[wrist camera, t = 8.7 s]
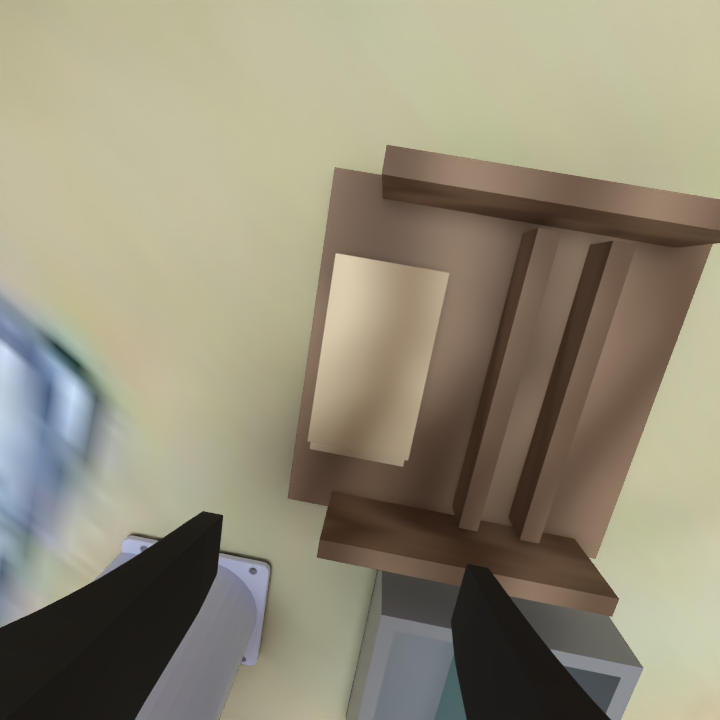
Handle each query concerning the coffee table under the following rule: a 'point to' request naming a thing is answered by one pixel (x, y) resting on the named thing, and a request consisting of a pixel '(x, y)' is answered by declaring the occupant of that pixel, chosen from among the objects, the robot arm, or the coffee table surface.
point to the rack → (508, 367)
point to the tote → (435, 650)
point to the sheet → (451, 698)
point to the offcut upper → (375, 355)
